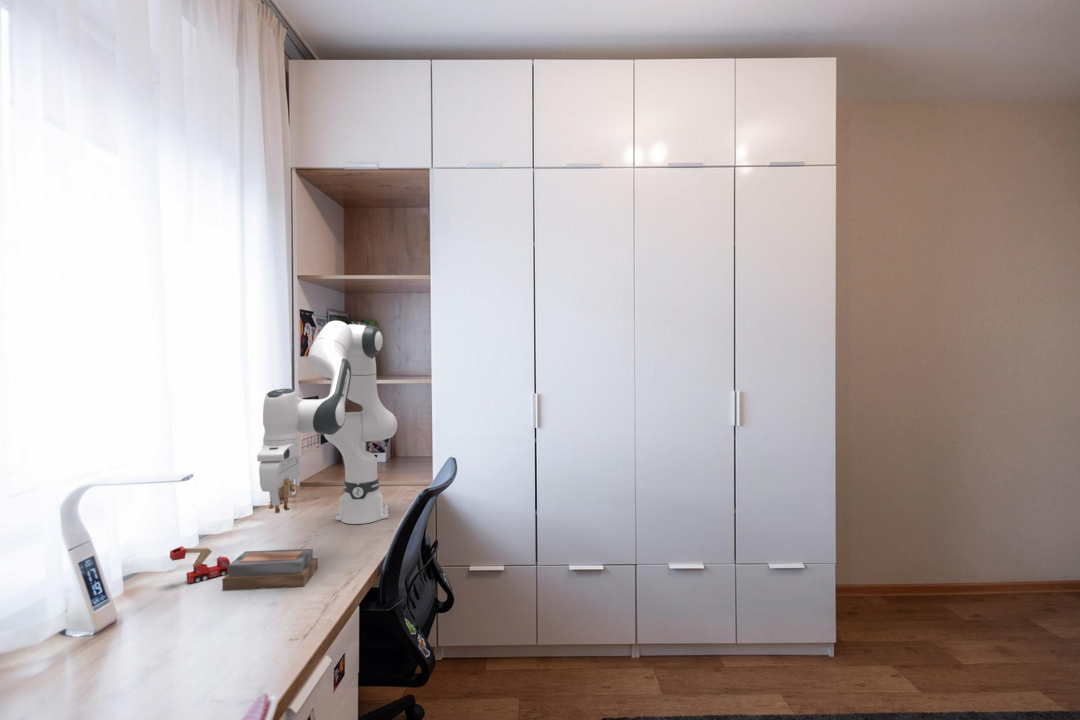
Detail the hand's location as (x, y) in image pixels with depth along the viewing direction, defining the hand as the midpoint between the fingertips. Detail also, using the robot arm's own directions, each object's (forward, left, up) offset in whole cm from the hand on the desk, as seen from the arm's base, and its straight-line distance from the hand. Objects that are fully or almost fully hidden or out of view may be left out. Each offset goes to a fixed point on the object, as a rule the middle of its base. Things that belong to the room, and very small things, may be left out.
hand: (282, 500), depth 149 cm
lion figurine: (-2, -1, -3) cm, 3 cm away
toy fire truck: (-1, -22, -21) cm, 30 cm away
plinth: (+1, -3, -21) cm, 21 cm away
